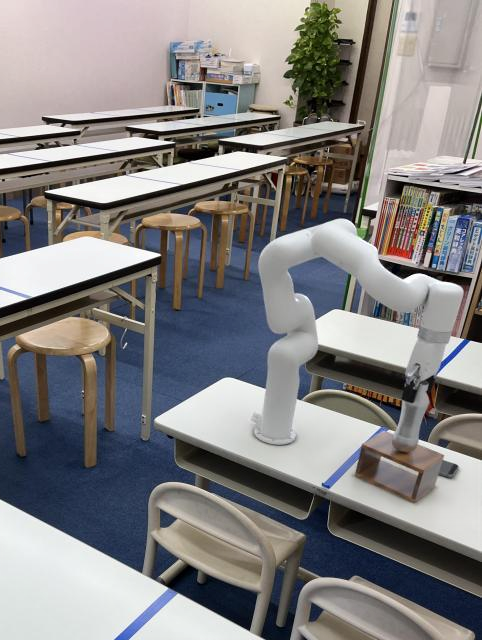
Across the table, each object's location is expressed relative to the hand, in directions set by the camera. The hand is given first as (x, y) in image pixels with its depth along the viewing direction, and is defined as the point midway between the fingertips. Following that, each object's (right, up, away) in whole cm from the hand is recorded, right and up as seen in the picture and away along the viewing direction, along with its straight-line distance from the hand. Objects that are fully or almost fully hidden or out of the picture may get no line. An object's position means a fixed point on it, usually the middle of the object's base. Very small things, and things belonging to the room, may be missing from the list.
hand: (416, 395), depth 181 cm
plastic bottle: (0, -14, +8) cm, 16 cm away
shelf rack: (-1, -23, +14) cm, 26 cm away
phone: (+12, -18, +22) cm, 31 cm away
